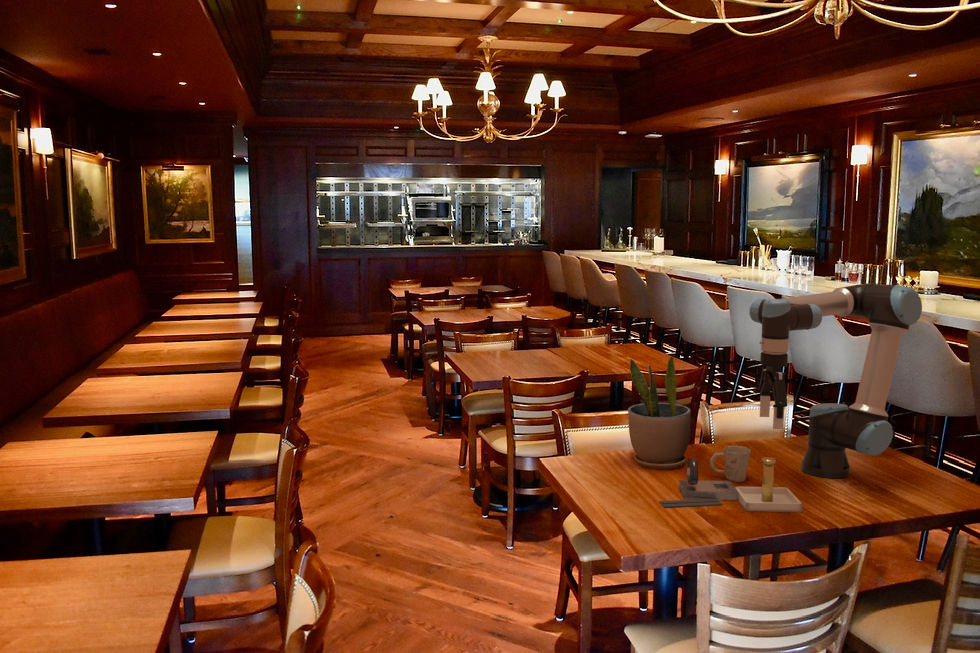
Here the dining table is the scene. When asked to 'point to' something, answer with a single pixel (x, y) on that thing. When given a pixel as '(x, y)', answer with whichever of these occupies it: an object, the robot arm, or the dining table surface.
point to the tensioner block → (705, 486)
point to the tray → (781, 502)
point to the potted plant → (658, 423)
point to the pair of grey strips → (690, 503)
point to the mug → (733, 462)
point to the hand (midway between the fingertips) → (771, 422)
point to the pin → (768, 478)
